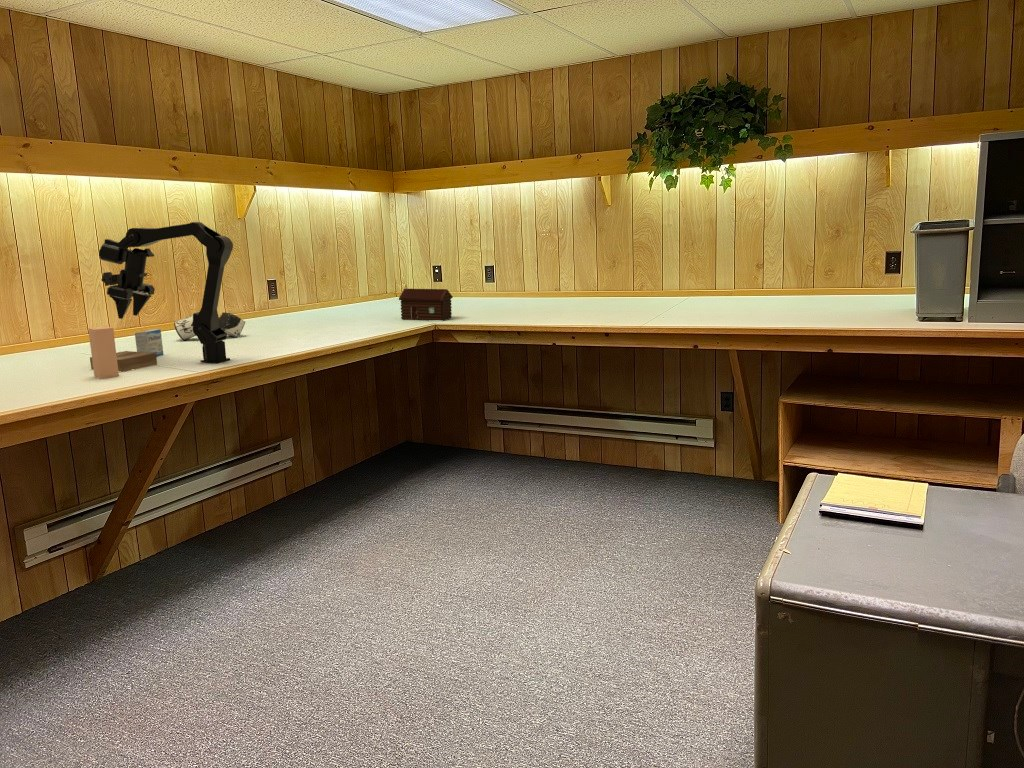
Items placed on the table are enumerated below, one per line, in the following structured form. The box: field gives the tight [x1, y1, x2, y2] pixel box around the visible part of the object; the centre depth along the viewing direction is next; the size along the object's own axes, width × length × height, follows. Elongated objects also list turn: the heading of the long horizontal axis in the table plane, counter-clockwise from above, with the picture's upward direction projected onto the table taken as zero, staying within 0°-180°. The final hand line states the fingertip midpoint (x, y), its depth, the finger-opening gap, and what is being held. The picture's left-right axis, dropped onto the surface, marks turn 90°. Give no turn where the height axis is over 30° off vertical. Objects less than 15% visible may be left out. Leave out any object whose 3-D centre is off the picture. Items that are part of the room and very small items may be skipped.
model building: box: [398, 284, 453, 321], centre depth 348 cm, size 21×12×15 cm, turn 71°
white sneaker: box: [173, 311, 246, 341], centre depth 298 cm, size 25×10×10 cm, turn 116°
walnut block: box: [89, 350, 158, 373], centre depth 242 cm, size 13×13×4 cm
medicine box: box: [134, 328, 164, 357], centre depth 260 cm, size 8×4×9 cm, turn 170°
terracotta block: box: [87, 326, 120, 379], centre depth 226 cm, size 5×5×14 cm
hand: (127, 316), depth 247 cm, fingers open, 9 cm apart
